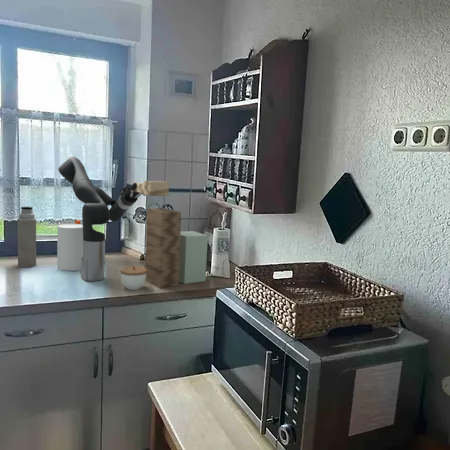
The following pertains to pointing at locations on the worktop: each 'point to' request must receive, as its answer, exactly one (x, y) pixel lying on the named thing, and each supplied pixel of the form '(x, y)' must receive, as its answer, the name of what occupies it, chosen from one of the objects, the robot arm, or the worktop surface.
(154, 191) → the wooden block
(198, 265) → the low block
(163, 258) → the tall box
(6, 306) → the worktop surface
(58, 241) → the canister
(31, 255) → the thermos bottle
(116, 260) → the worktop surface
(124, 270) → the lidded jar
